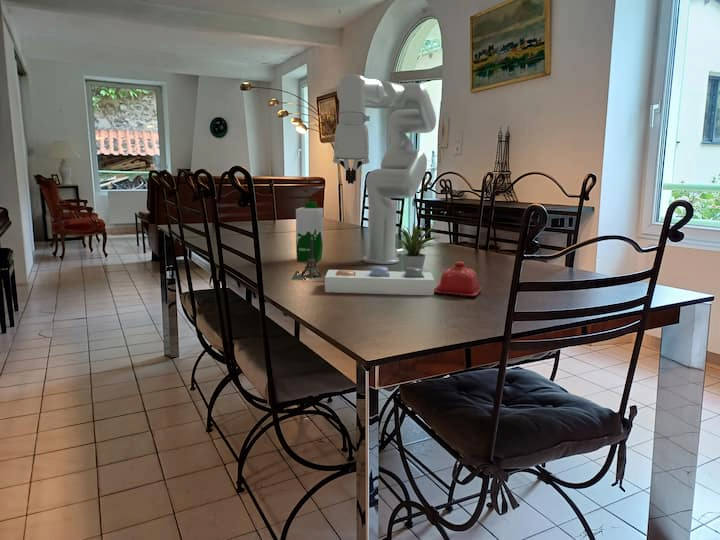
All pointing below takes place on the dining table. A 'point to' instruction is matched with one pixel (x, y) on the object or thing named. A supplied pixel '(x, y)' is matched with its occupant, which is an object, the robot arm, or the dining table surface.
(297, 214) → the milk carton
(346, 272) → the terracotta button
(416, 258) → the house plant
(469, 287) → the butter dish
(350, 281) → the white button panel
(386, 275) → the slate blue button
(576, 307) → the dining table surface
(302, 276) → the eiffel tower figurine
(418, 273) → the charcoal button
